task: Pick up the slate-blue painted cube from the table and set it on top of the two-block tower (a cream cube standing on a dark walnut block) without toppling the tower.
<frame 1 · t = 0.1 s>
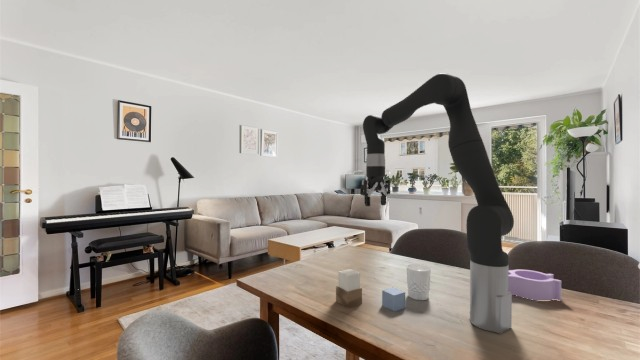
hand: (375, 205, 119), 29 cm above the table, tool pointing down, fingers open, 8 cm apart
tower base: (348, 302, 96), on the table, touching tower top
clip: (522, 294, 104), on the table
white cup: (418, 297, 101), on the table
tower top: (349, 287, 96), point 5 cm above the table, touching tower base
blue cube: (393, 306, 93), on the table
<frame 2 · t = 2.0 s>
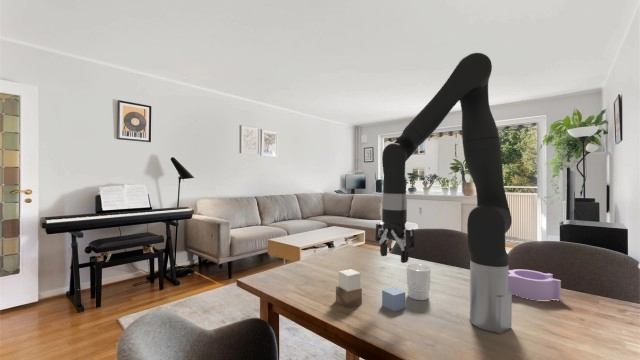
hand: (393, 258, 93), 15 cm above the table, tool pointing down, fingers open, 8 cm apart
nothing on the table moved.
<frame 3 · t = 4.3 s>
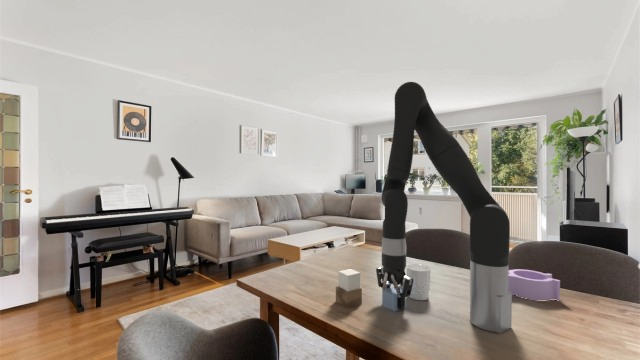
hand: (393, 305, 93), 0 cm above the table, tool pointing down, fingers closed on blue cube, 5 cm apart
blue cube: (393, 306, 93), on the table, touching gripper
everything else where it was.
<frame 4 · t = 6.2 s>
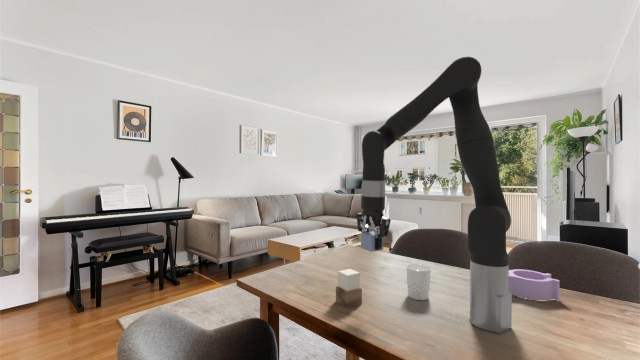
hand: (371, 247, 95), 18 cm above the table, tool pointing down, fingers closed on blue cube, 5 cm apart
tower base: (348, 302, 96), on the table
tower top: (348, 287, 96), point 5 cm above the table
blue cube: (371, 248, 95), point 18 cm above the table, touching gripper
everything else where it was.
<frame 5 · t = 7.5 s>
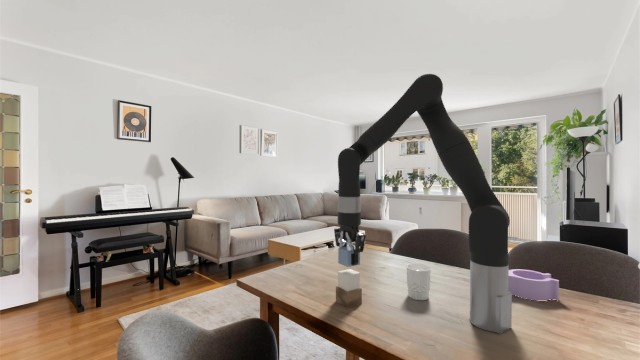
hand: (349, 262, 96), 13 cm above the table, tool pointing down, fingers closed on blue cube, 5 cm apart
tower base: (348, 302, 96), on the table, touching tower top
tower top: (348, 287, 96), point 5 cm above the table, touching tower base
blue cube: (349, 263, 96), point 13 cm above the table, touching gripper
everything else where it was.
when the fingers open (12 cm above the table, at t = 8.5 s): blue cube drops 1 cm, resting on tower top.
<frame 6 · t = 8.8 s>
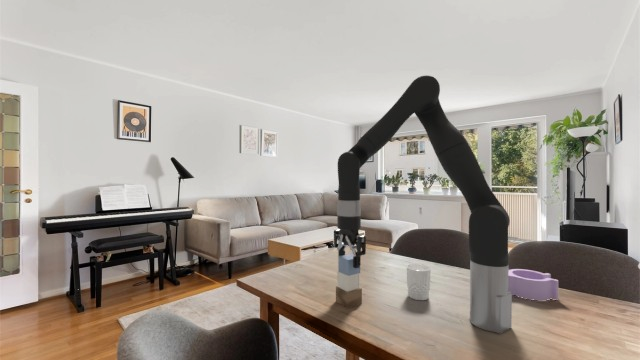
hand: (348, 264, 96), 12 cm above the table, tool pointing down, fingers open, 7 cm apart
tower top: (348, 287, 96), point 5 cm above the table, touching blue cube, tower base
blue cube: (349, 272, 96), point 10 cm above the table, touching tower top
everything else where it was.
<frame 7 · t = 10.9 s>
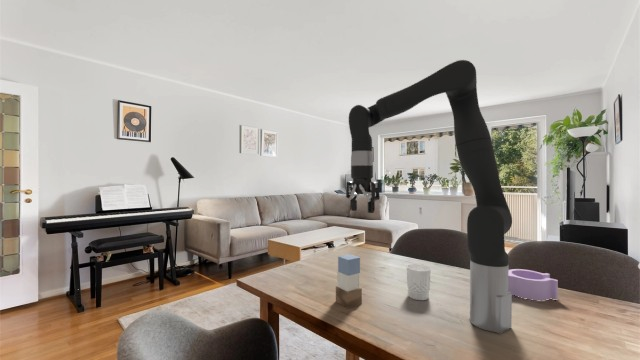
hand: (362, 211, 102), 29 cm above the table, tool pointing down, fingers open, 8 cm apart
nothing on the table moved.
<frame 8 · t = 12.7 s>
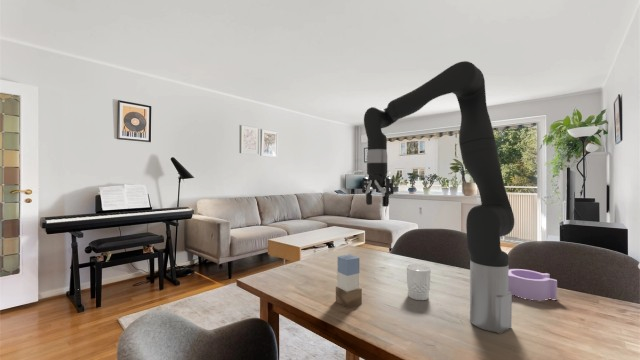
hand: (376, 205, 111), 30 cm above the table, tool pointing down, fingers open, 8 cm apart
at the end: blue cube 0.1 cm off-centre on the tower top, point 5.0 cm above the tower top's base; tower top 0.2 cm off-centre on the tower base, point 5.0 cm above the tower base's base; tower top tilted 0° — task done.
